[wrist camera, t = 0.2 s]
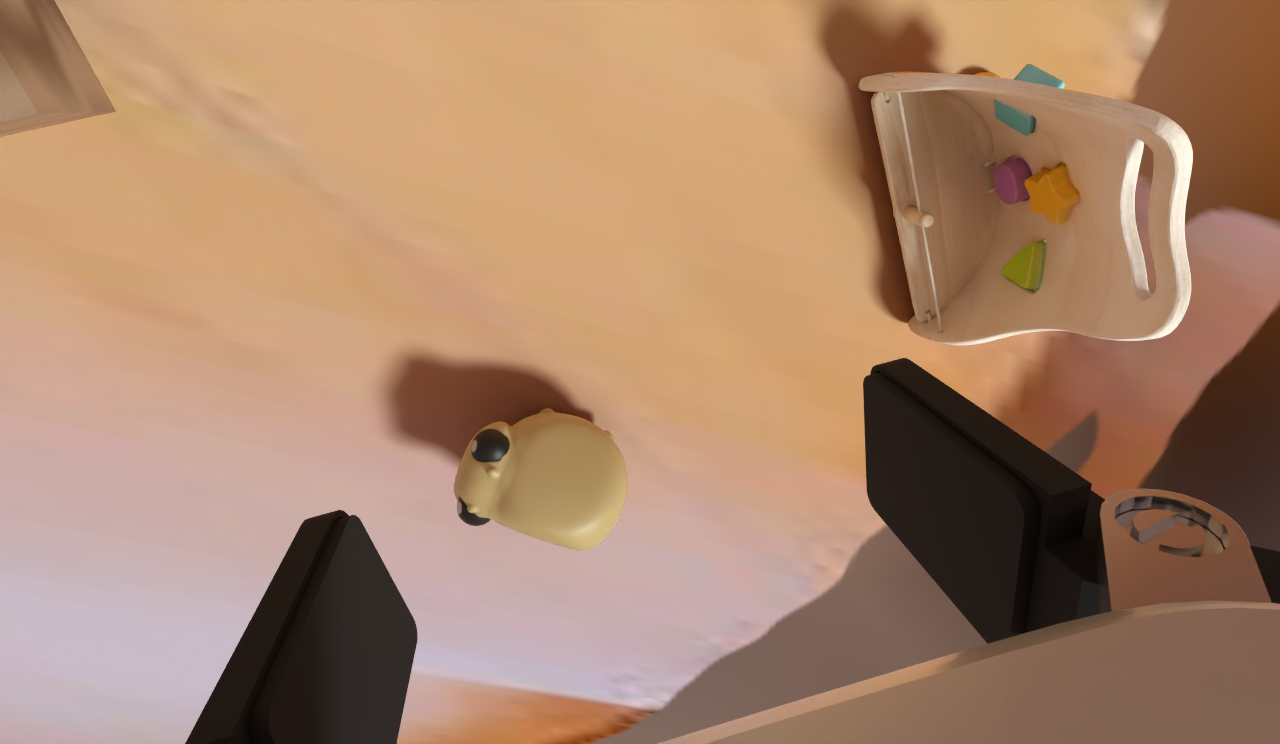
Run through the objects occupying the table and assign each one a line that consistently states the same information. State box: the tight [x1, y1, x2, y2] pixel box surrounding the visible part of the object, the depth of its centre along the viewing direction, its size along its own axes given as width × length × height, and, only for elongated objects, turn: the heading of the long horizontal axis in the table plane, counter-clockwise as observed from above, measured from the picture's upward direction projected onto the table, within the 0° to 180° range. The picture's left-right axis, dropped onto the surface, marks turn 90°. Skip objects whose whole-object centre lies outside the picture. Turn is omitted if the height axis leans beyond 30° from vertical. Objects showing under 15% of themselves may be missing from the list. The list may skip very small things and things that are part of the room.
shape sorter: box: [859, 64, 1193, 345], centre depth 36 cm, size 20×10×18 cm, turn 23°
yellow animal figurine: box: [454, 408, 627, 551], centre depth 42 cm, size 10×12×11 cm
